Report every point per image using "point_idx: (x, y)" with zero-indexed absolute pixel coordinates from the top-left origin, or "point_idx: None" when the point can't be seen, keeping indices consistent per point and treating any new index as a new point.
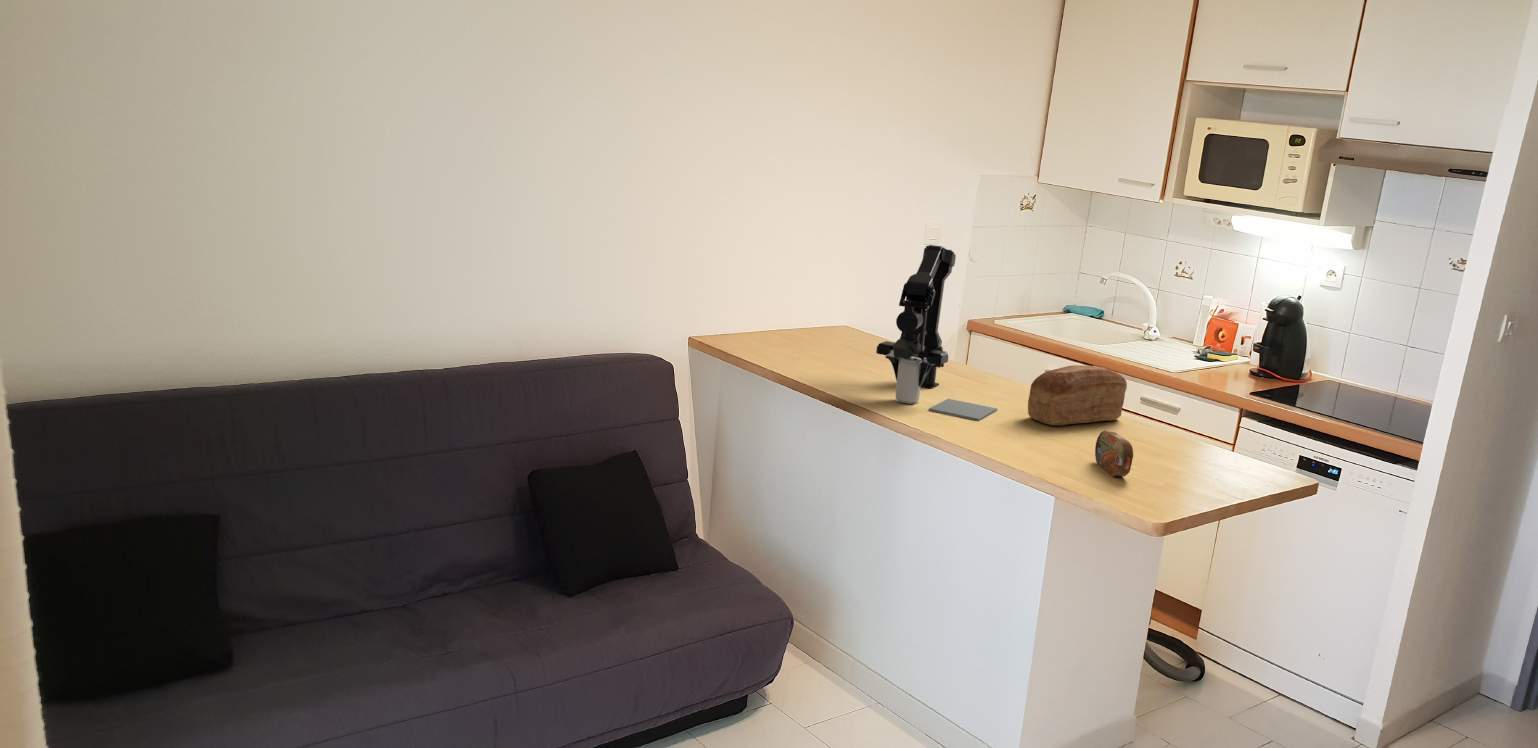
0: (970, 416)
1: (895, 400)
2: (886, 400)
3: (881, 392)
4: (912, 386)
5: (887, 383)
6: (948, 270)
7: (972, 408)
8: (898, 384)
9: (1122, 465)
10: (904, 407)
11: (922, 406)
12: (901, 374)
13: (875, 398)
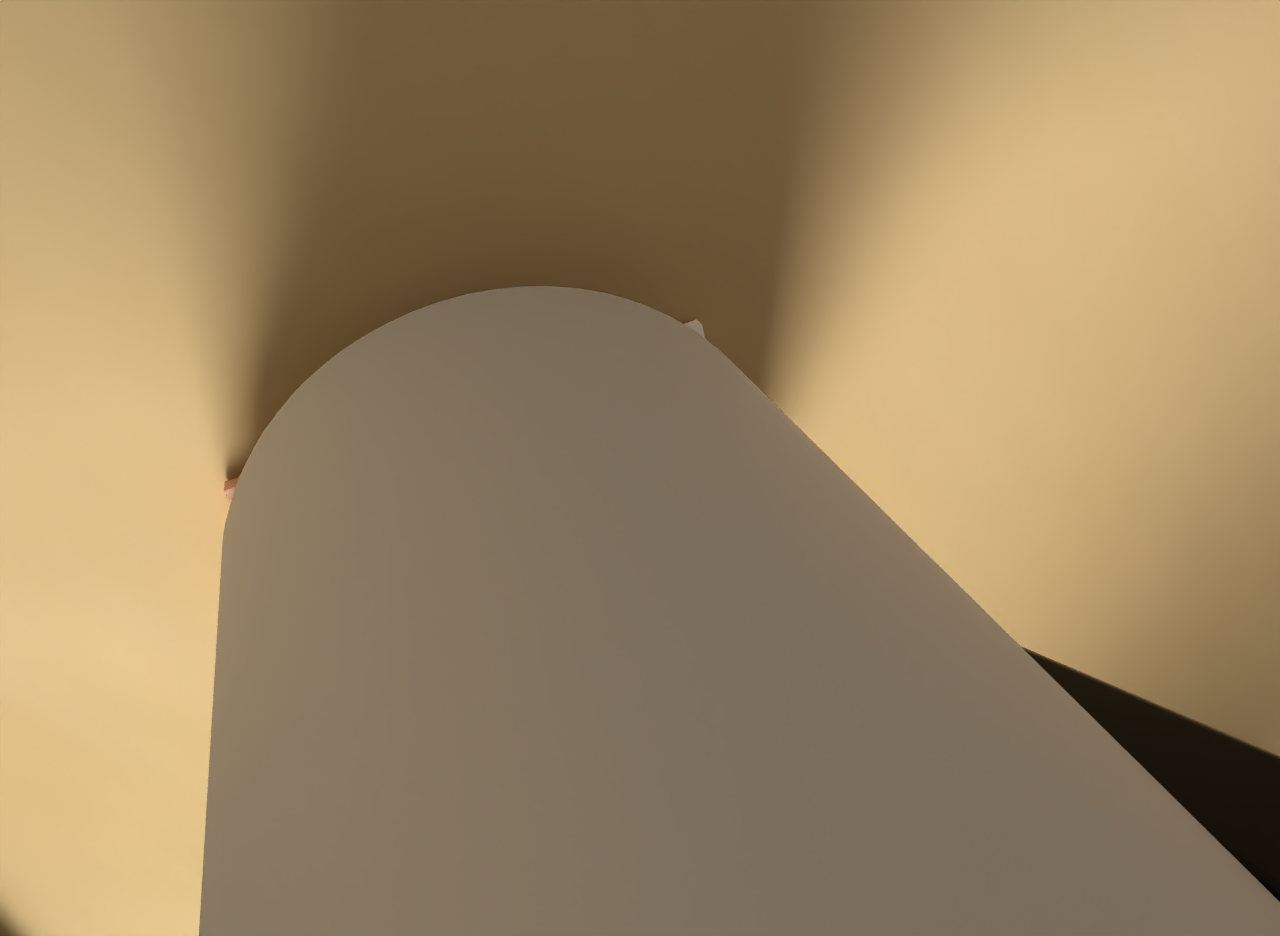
0: None
1: (690, 327)
2: (842, 182)
3: (1162, 524)
4: (247, 731)
5: None
6: None
7: None
8: (793, 484)
9: None
10: (126, 64)
11: (40, 585)
12: (917, 797)
13: (1080, 78)
